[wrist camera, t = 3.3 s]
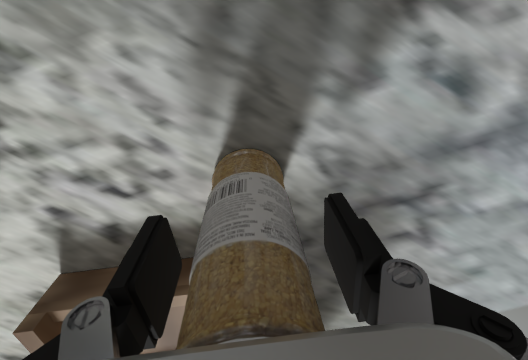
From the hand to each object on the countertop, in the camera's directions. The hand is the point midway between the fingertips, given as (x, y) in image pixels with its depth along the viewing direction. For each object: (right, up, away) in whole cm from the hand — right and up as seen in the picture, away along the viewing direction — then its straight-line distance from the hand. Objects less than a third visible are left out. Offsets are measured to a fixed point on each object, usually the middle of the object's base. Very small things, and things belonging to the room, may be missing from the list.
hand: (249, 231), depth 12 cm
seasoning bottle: (0, +3, +5) cm, 6 cm away
